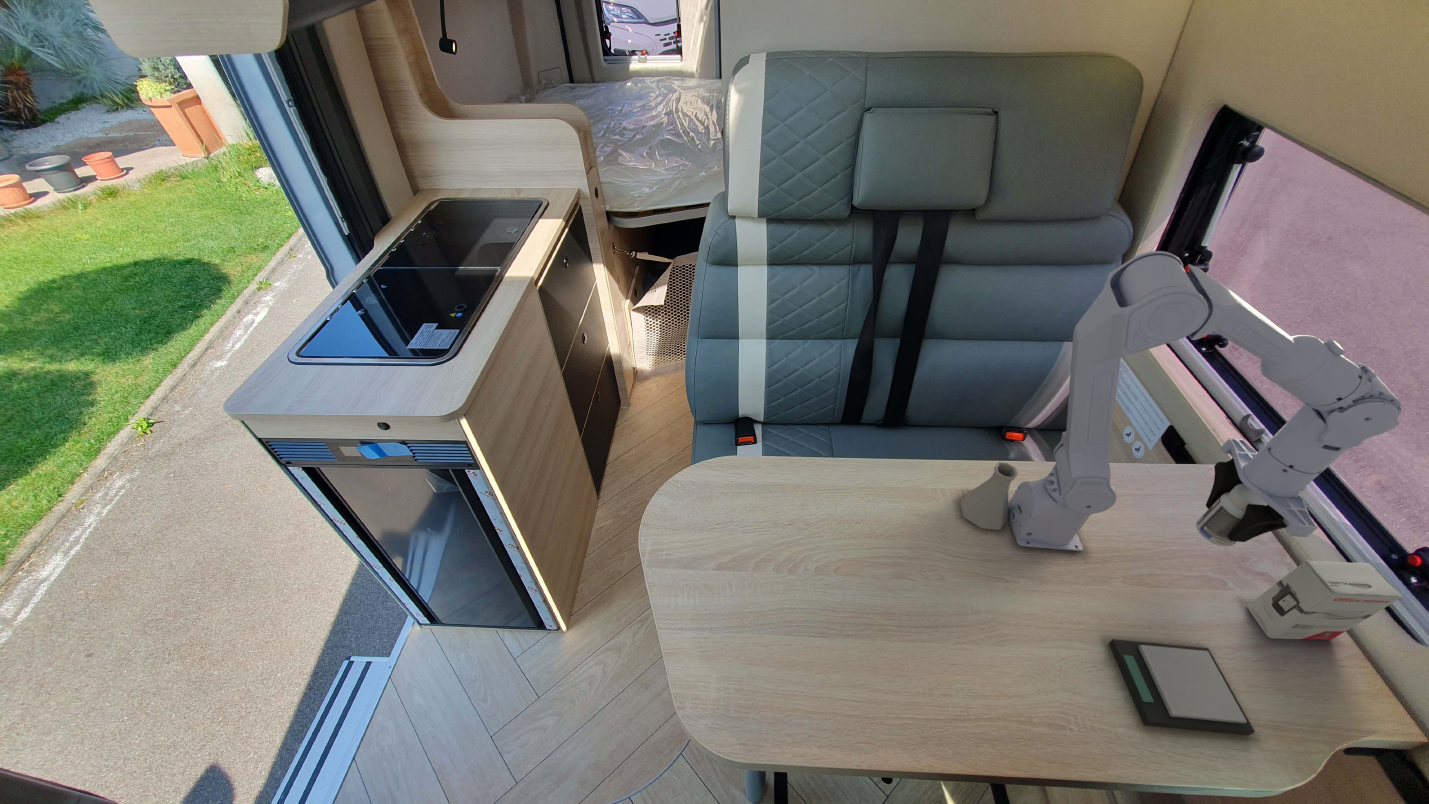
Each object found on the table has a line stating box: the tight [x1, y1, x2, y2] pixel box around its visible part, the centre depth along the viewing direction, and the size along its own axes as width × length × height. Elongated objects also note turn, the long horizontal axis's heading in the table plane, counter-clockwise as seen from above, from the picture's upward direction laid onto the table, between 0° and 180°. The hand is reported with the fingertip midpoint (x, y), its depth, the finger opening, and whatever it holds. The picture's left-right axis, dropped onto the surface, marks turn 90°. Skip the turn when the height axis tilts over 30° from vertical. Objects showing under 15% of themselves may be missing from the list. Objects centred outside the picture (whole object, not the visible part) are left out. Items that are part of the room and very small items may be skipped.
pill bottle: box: [1195, 484, 1268, 548], centre depth 78 cm, size 5×5×8 cm
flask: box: [960, 461, 1019, 531], centre depth 88 cm, size 7×7×10 cm
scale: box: [1108, 638, 1256, 736], centre depth 71 cm, size 12×10×2 cm
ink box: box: [1246, 560, 1403, 641], centre depth 74 cm, size 9×5×12 cm, turn 88°
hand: (1224, 523), depth 79 cm, fingers closed on pill bottle, 5 cm apart
